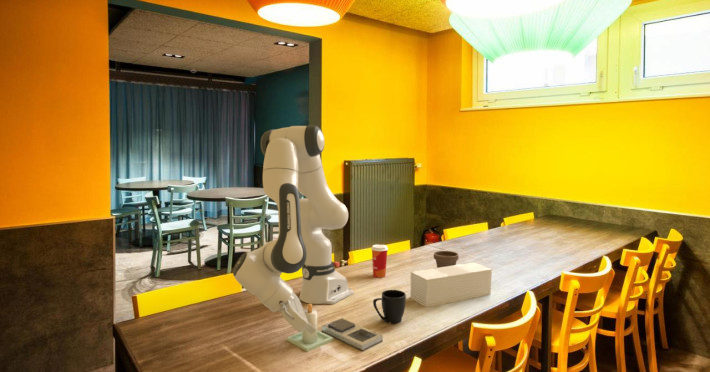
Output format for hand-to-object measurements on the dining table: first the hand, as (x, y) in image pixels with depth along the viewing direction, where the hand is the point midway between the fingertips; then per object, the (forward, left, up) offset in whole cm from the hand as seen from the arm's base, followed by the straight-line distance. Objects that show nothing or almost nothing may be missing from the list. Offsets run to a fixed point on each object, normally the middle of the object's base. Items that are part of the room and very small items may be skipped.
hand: (311, 324), depth 129 cm
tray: (0, 0, -6) cm, 6 cm away
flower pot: (-88, -8, -6) cm, 88 cm away
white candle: (0, 0, -5) cm, 5 cm away
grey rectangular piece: (-11, +7, -6) cm, 14 cm away
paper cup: (-64, -28, -6) cm, 70 cm away
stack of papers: (-65, +9, -6) cm, 66 cm away
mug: (-29, +7, -6) cm, 30 cm away
